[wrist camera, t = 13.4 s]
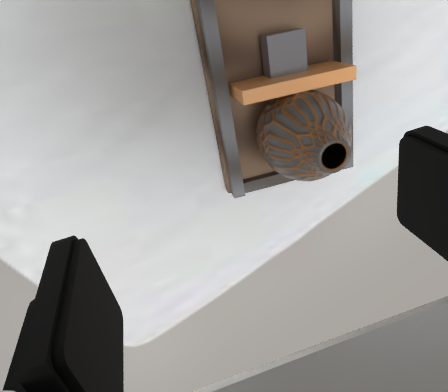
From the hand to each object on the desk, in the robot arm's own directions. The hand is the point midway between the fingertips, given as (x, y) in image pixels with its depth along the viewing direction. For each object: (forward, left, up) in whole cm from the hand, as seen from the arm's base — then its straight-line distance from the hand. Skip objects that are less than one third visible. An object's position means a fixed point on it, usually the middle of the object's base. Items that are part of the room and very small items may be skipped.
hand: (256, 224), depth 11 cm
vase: (+4, +9, -21) cm, 23 cm away
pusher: (-1, +9, -20) cm, 22 cm away
